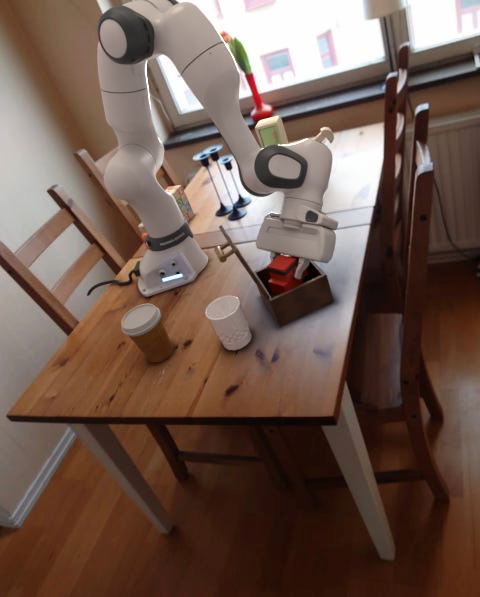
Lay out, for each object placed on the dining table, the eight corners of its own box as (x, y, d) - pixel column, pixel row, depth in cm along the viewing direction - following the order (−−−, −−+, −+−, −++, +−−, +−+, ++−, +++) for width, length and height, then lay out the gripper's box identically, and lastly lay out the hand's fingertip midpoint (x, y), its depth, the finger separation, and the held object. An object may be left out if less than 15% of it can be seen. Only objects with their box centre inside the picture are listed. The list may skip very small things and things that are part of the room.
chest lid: (221, 224, 104) (205, 235, 104) (237, 250, 93) (218, 262, 93) (252, 270, 112) (237, 280, 112) (270, 298, 101) (253, 310, 101)
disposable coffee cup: (138, 352, 116) (115, 316, 109) (172, 333, 118) (152, 296, 111) (147, 374, 108) (123, 336, 102) (184, 353, 110) (162, 315, 103)
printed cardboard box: (163, 249, 156) (146, 217, 150) (149, 249, 160) (132, 218, 153) (195, 214, 170) (181, 184, 163) (181, 215, 173) (167, 185, 166)
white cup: (235, 325, 112) (220, 292, 106) (260, 332, 107) (246, 298, 101) (214, 347, 108) (198, 315, 102) (240, 356, 103) (224, 322, 97)
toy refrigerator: (272, 185, 167) (253, 128, 155) (276, 176, 172) (258, 120, 161) (293, 181, 164) (276, 122, 152) (297, 171, 169) (281, 114, 157)
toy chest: (311, 274, 117) (303, 248, 113) (334, 302, 106) (326, 274, 102) (261, 297, 117) (251, 272, 112) (279, 327, 106) (269, 301, 101)
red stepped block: (289, 301, 106) (280, 273, 102) (273, 296, 110) (262, 269, 105) (310, 280, 110) (302, 252, 105) (293, 276, 113) (284, 249, 109)
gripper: (257, 208, 111) (243, 265, 112) (328, 216, 96) (312, 282, 98) (274, 214, 115) (261, 269, 116) (345, 223, 101) (329, 286, 102)
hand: (285, 275), depth 107 cm, fingers closed on red stepped block, 5 cm apart
